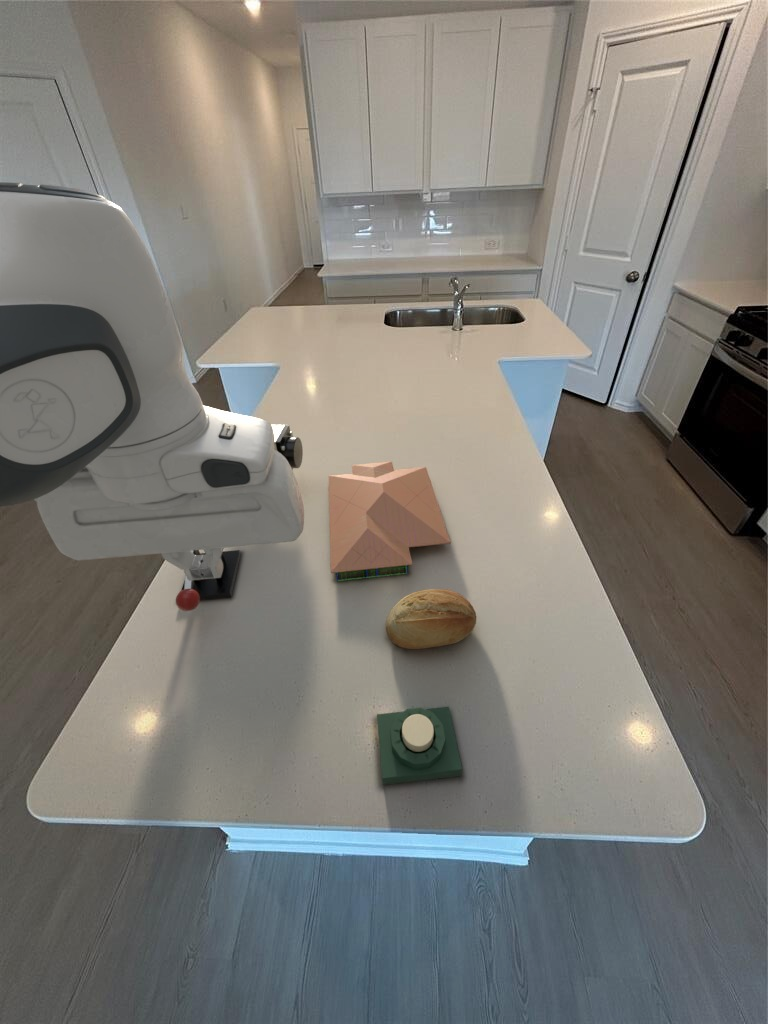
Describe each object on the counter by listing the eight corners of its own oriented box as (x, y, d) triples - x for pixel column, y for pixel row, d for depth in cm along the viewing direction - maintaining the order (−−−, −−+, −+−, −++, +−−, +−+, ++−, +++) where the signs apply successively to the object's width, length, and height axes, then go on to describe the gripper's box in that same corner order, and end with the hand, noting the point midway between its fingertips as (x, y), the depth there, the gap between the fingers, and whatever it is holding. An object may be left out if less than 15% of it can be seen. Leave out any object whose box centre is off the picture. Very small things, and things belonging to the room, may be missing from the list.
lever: (202, 611, 72) (194, 608, 69) (180, 613, 72) (170, 610, 69) (207, 525, 78) (199, 518, 75) (186, 527, 78) (178, 519, 74)
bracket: (231, 597, 79) (209, 542, 70) (180, 602, 79) (152, 547, 70) (241, 554, 88) (222, 500, 79) (195, 558, 87) (171, 504, 78)
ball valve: (310, 481, 106) (299, 415, 94) (302, 503, 99) (288, 435, 88) (239, 479, 108) (219, 413, 96) (226, 500, 101) (203, 433, 90)
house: (423, 471, 107) (424, 442, 102) (454, 571, 82) (458, 540, 77) (329, 480, 106) (325, 451, 101) (332, 584, 81) (327, 553, 76)
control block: (447, 713, 62) (449, 700, 59) (460, 776, 56) (463, 763, 53) (377, 721, 61) (376, 707, 59) (382, 785, 55) (381, 773, 53)
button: (430, 718, 58) (430, 712, 57) (435, 750, 55) (436, 744, 54) (400, 721, 58) (400, 715, 57) (404, 753, 55) (404, 748, 54)
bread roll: (484, 650, 70) (491, 619, 64) (392, 666, 68) (391, 637, 63) (465, 602, 77) (469, 571, 72) (381, 616, 75) (379, 586, 70)
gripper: (-16, 486, 30) (80, 611, 39) (284, 463, 31) (311, 589, 40) (31, 439, 35) (108, 560, 44) (290, 420, 36) (313, 542, 45)
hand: (207, 574), depth 42 cm, fingers closed
